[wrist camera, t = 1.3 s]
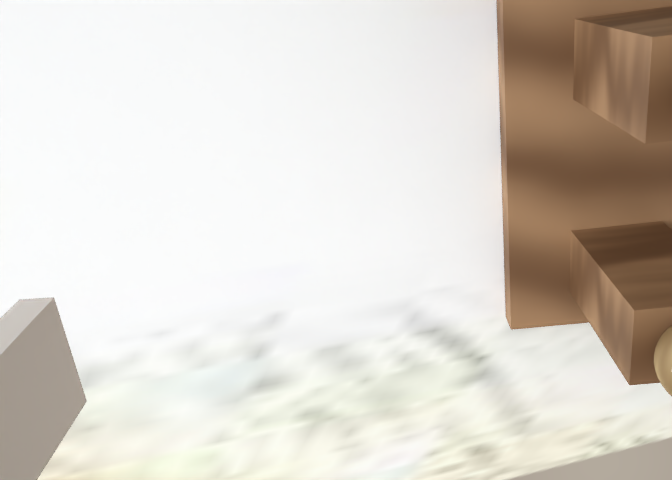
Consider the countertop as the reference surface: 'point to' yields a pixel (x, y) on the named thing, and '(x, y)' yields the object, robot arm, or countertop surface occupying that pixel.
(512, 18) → the wooden peg board
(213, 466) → the countertop surface
